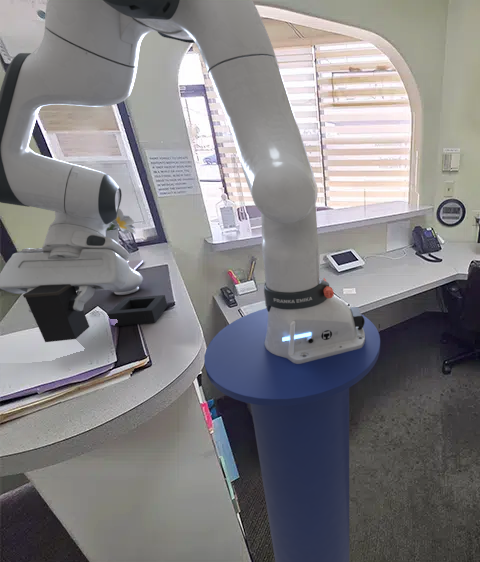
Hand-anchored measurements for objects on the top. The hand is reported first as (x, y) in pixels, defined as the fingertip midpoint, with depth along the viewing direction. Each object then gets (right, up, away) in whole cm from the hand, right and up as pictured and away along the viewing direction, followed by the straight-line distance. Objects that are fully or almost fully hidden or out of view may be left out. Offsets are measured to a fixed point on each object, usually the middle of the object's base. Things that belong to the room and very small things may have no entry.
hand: (56, 311), depth 59 cm
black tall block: (0, -5, +3) cm, 5 cm away
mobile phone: (-29, +10, +53) cm, 61 cm away
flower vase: (-16, +3, +36) cm, 40 cm away
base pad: (-1, -3, +22) cm, 22 cm away
